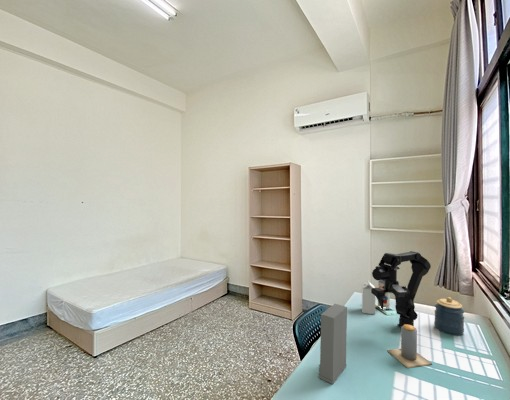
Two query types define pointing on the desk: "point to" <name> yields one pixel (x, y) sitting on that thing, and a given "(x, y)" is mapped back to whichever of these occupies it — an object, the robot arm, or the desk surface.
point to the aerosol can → (387, 295)
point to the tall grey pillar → (333, 343)
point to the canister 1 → (409, 342)
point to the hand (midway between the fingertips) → (389, 307)
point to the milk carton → (368, 298)
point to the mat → (409, 363)
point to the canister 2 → (449, 316)
